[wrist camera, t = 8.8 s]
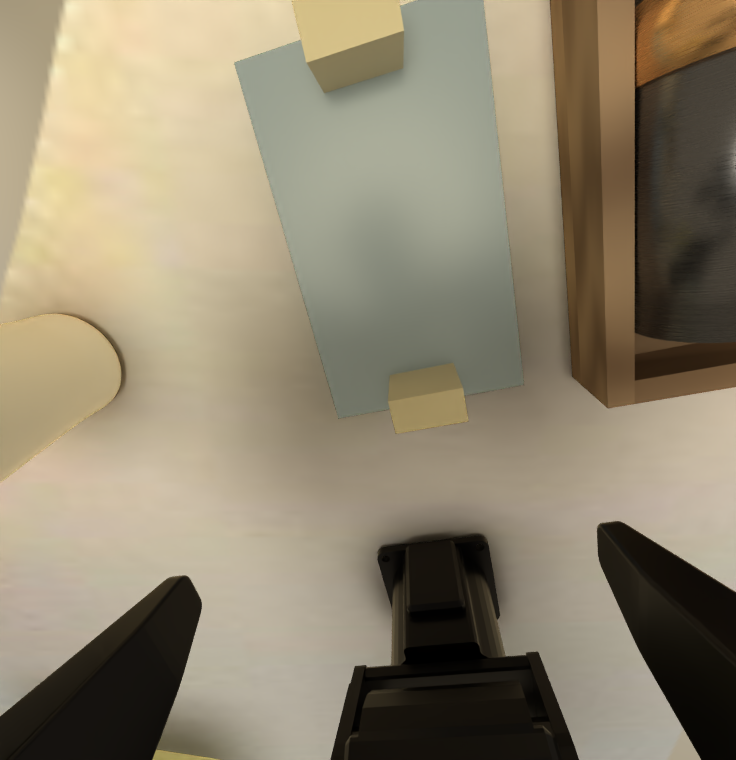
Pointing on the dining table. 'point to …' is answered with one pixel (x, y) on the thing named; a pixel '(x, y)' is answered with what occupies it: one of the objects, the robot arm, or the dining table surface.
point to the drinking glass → (50, 382)
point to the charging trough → (611, 217)
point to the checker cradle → (392, 201)
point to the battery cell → (685, 170)
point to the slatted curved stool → (177, 756)
